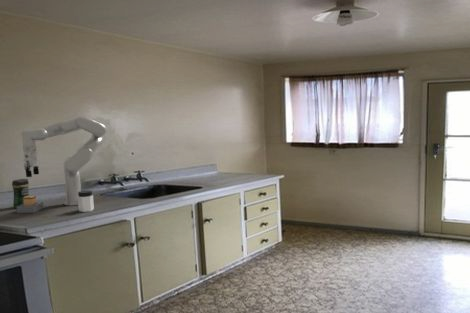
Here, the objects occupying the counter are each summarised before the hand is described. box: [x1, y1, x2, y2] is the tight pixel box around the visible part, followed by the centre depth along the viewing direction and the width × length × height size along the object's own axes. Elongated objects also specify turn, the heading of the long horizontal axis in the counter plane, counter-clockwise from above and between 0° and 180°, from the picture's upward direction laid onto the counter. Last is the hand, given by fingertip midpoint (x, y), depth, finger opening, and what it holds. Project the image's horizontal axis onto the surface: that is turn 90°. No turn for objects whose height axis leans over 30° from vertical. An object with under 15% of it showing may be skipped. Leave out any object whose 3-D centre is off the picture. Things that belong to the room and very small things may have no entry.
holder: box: [15, 201, 44, 214], centre depth 249 cm, size 11×11×4 cm
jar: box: [77, 189, 95, 213], centre depth 245 cm, size 9×8×12 cm
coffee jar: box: [11, 178, 30, 209], centre depth 259 cm, size 10×8×19 cm
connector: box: [23, 195, 37, 206], centre depth 249 cm, size 6×4×8 cm
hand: (32, 175), depth 252 cm, fingers open, 9 cm apart
